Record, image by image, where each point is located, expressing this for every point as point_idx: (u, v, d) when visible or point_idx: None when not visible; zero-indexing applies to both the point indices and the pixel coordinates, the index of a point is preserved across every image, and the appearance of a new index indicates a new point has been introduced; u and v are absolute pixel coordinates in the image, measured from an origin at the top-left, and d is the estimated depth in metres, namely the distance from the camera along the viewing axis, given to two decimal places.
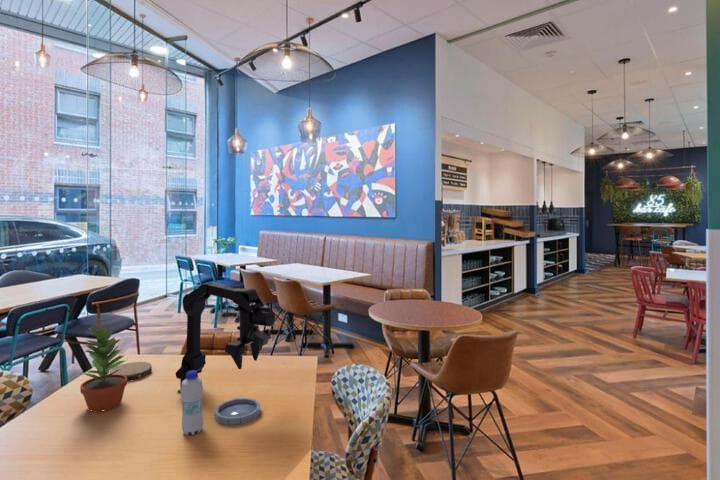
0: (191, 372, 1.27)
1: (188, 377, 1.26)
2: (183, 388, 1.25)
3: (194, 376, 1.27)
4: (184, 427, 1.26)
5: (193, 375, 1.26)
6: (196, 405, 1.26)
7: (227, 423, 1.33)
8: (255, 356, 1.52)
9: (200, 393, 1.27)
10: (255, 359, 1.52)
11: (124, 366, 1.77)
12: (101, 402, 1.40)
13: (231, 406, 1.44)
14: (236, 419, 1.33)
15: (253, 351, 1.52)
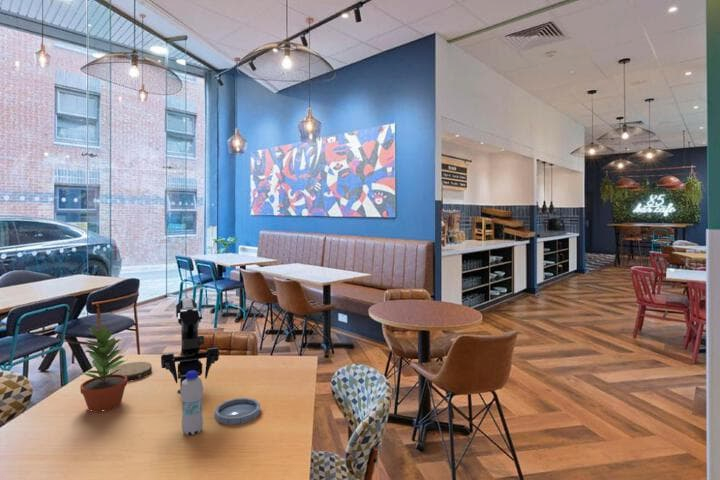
0: (191, 372, 1.27)
1: (188, 377, 1.26)
2: (183, 388, 1.25)
3: (194, 376, 1.27)
4: (184, 427, 1.26)
5: (193, 375, 1.26)
6: (196, 405, 1.26)
7: (227, 423, 1.33)
8: (205, 373, 1.39)
9: (200, 393, 1.27)
10: (205, 376, 1.38)
11: (124, 366, 1.77)
12: (101, 402, 1.40)
13: (231, 406, 1.44)
14: (236, 419, 1.33)
15: None
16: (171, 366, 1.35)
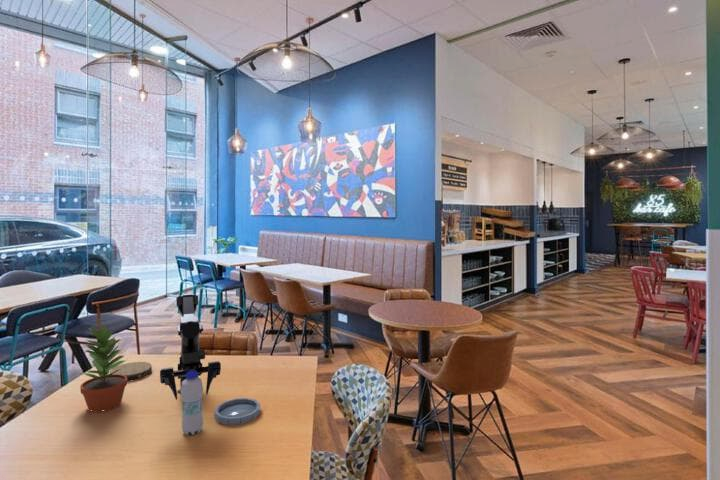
0: (191, 372, 1.27)
1: (188, 377, 1.26)
2: (183, 388, 1.25)
3: (194, 376, 1.27)
4: (184, 427, 1.26)
5: (193, 375, 1.26)
6: (196, 405, 1.26)
7: (227, 423, 1.33)
8: (206, 389, 1.32)
9: (200, 393, 1.27)
10: (206, 392, 1.31)
11: (124, 366, 1.77)
12: (101, 402, 1.40)
13: (231, 406, 1.44)
14: (236, 419, 1.33)
15: None
16: (170, 381, 1.29)
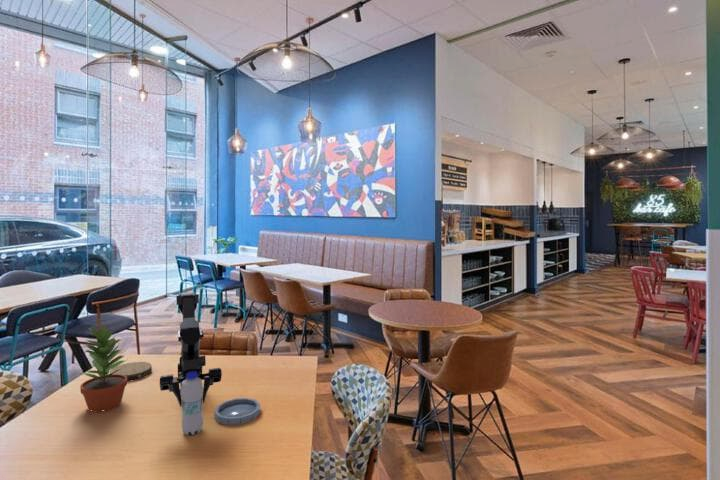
0: (191, 372, 1.27)
1: (188, 377, 1.26)
2: (183, 388, 1.25)
3: (194, 376, 1.27)
4: (184, 427, 1.26)
5: (193, 375, 1.26)
6: (196, 404, 1.26)
7: (227, 423, 1.33)
8: None
9: (200, 393, 1.27)
10: None
11: (124, 366, 1.77)
12: (101, 402, 1.40)
13: (231, 406, 1.44)
14: (236, 419, 1.33)
15: None
16: (175, 388, 1.27)
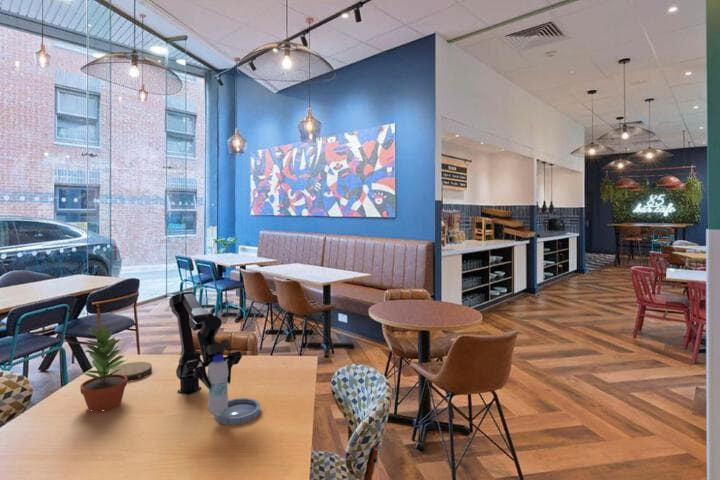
0: (218, 355, 1.32)
1: (216, 360, 1.31)
2: (212, 371, 1.30)
3: (221, 358, 1.32)
4: (212, 408, 1.31)
5: (221, 358, 1.32)
6: (224, 385, 1.32)
7: (227, 423, 1.33)
8: (227, 378, 1.35)
9: (227, 374, 1.33)
10: (228, 381, 1.35)
11: (124, 366, 1.77)
12: (101, 402, 1.40)
13: (231, 406, 1.44)
14: (236, 419, 1.33)
15: None
16: (202, 372, 1.31)
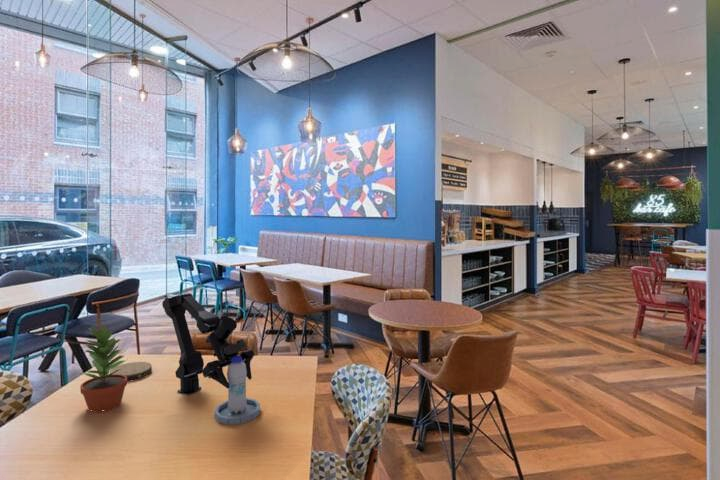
0: (238, 356, 1.39)
1: (236, 361, 1.38)
2: (234, 371, 1.37)
3: (241, 359, 1.39)
4: (234, 407, 1.37)
5: (240, 358, 1.39)
6: (244, 385, 1.39)
7: (227, 423, 1.33)
8: (248, 375, 1.43)
9: None
10: (249, 377, 1.43)
11: (124, 366, 1.77)
12: (101, 402, 1.40)
13: None
14: (236, 419, 1.33)
15: None
16: (219, 373, 1.35)
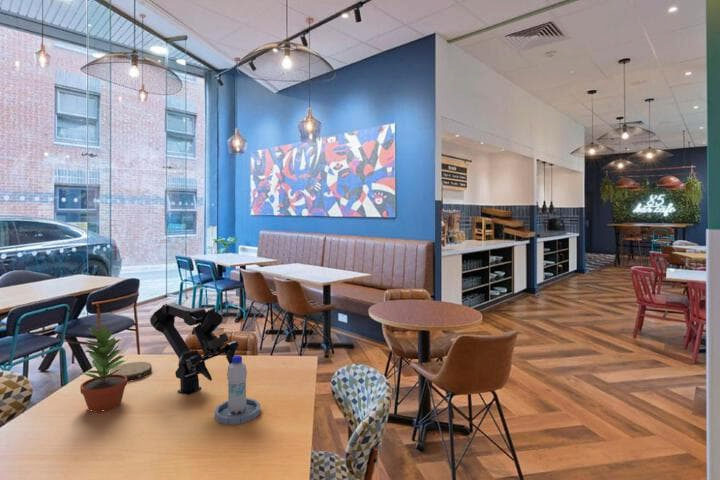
0: (238, 357, 1.39)
1: (236, 361, 1.38)
2: (234, 372, 1.37)
3: (241, 360, 1.39)
4: (234, 407, 1.37)
5: (240, 359, 1.39)
6: (244, 385, 1.39)
7: (227, 423, 1.33)
8: None
9: (246, 374, 1.40)
10: None
11: (124, 366, 1.77)
12: (101, 402, 1.40)
13: None
14: (236, 419, 1.33)
15: (230, 363, 1.51)
16: (202, 367, 1.42)
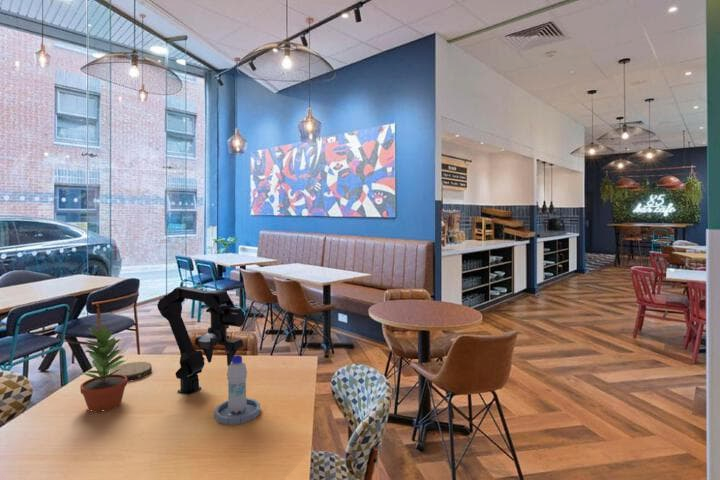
0: (238, 356, 1.39)
1: (236, 361, 1.38)
2: (234, 372, 1.37)
3: (241, 360, 1.39)
4: (234, 407, 1.37)
5: (240, 359, 1.39)
6: (244, 385, 1.39)
7: (227, 423, 1.33)
8: None
9: (246, 374, 1.40)
10: None
11: (124, 366, 1.77)
12: (101, 402, 1.40)
13: None
14: (236, 419, 1.33)
15: None
16: (203, 349, 1.53)
